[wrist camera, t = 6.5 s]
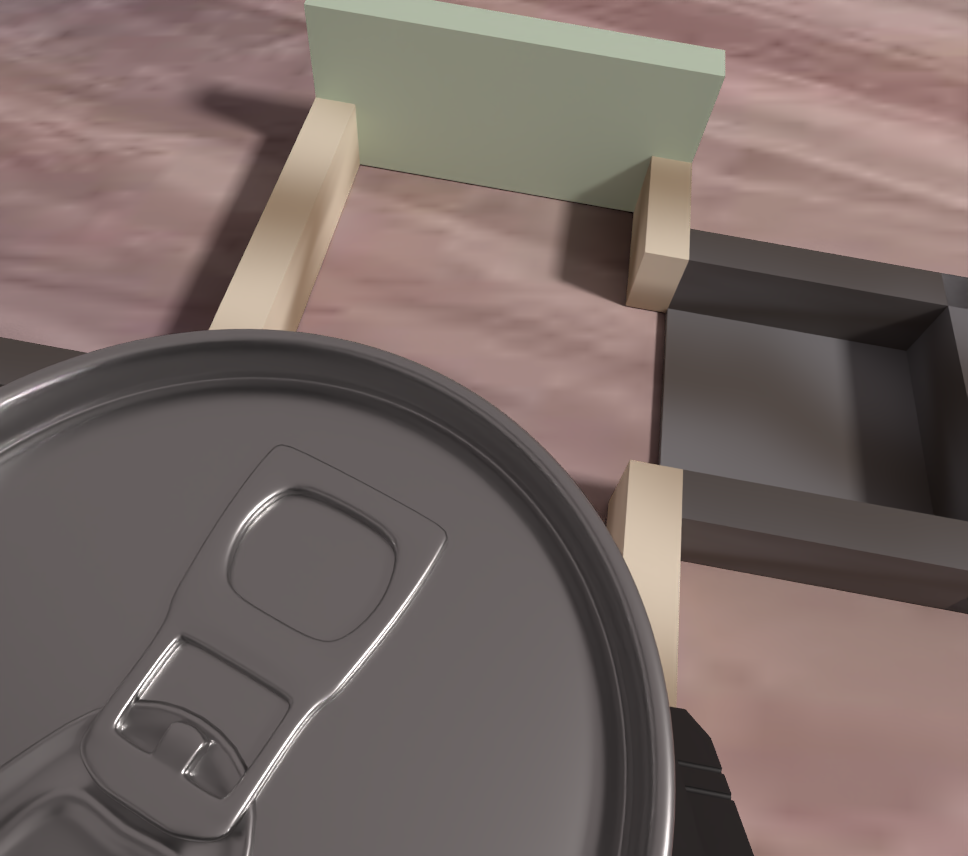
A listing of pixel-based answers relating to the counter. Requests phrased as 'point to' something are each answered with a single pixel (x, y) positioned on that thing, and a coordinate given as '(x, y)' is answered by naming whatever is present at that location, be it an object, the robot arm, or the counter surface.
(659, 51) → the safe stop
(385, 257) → the counter surface
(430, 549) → the can
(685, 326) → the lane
